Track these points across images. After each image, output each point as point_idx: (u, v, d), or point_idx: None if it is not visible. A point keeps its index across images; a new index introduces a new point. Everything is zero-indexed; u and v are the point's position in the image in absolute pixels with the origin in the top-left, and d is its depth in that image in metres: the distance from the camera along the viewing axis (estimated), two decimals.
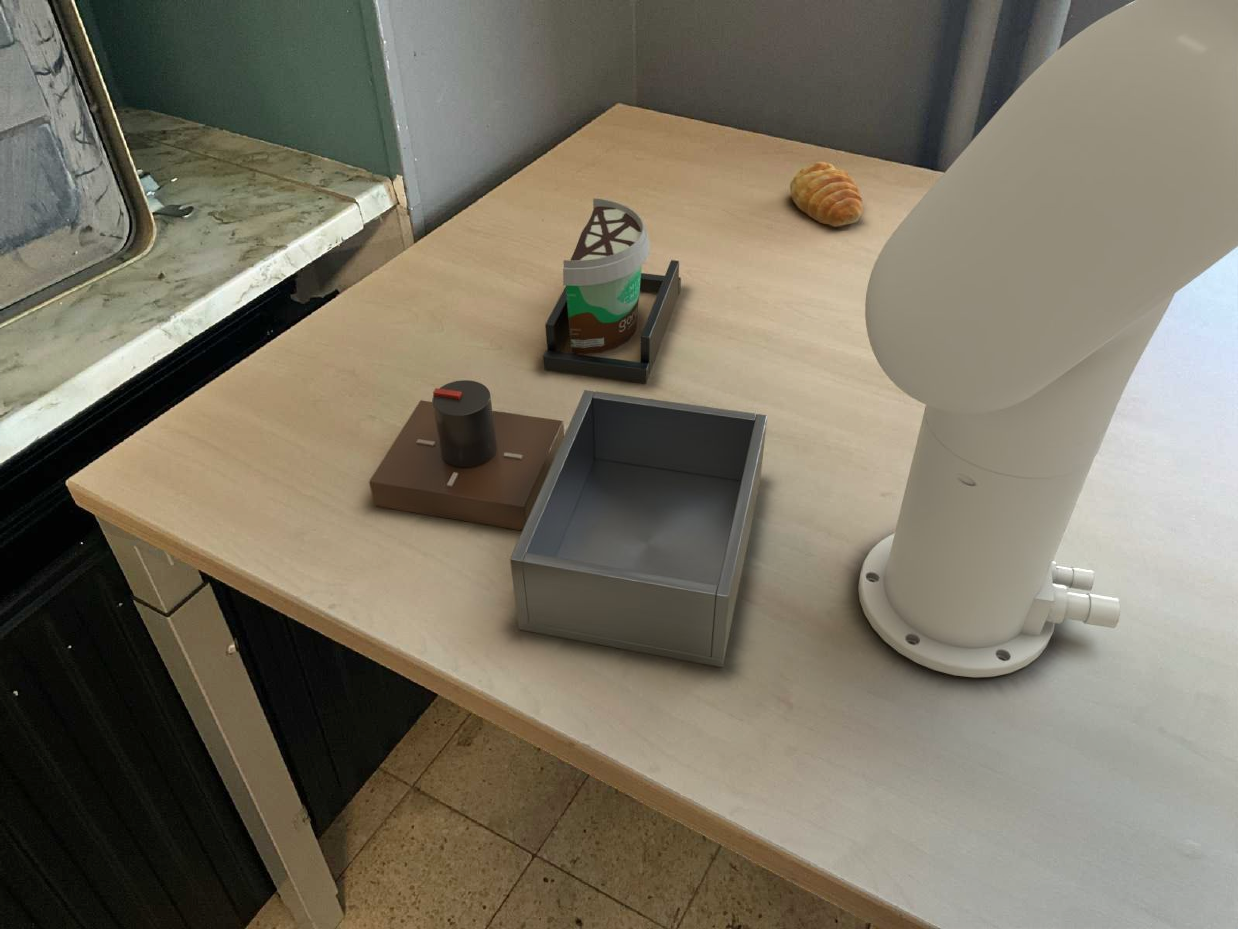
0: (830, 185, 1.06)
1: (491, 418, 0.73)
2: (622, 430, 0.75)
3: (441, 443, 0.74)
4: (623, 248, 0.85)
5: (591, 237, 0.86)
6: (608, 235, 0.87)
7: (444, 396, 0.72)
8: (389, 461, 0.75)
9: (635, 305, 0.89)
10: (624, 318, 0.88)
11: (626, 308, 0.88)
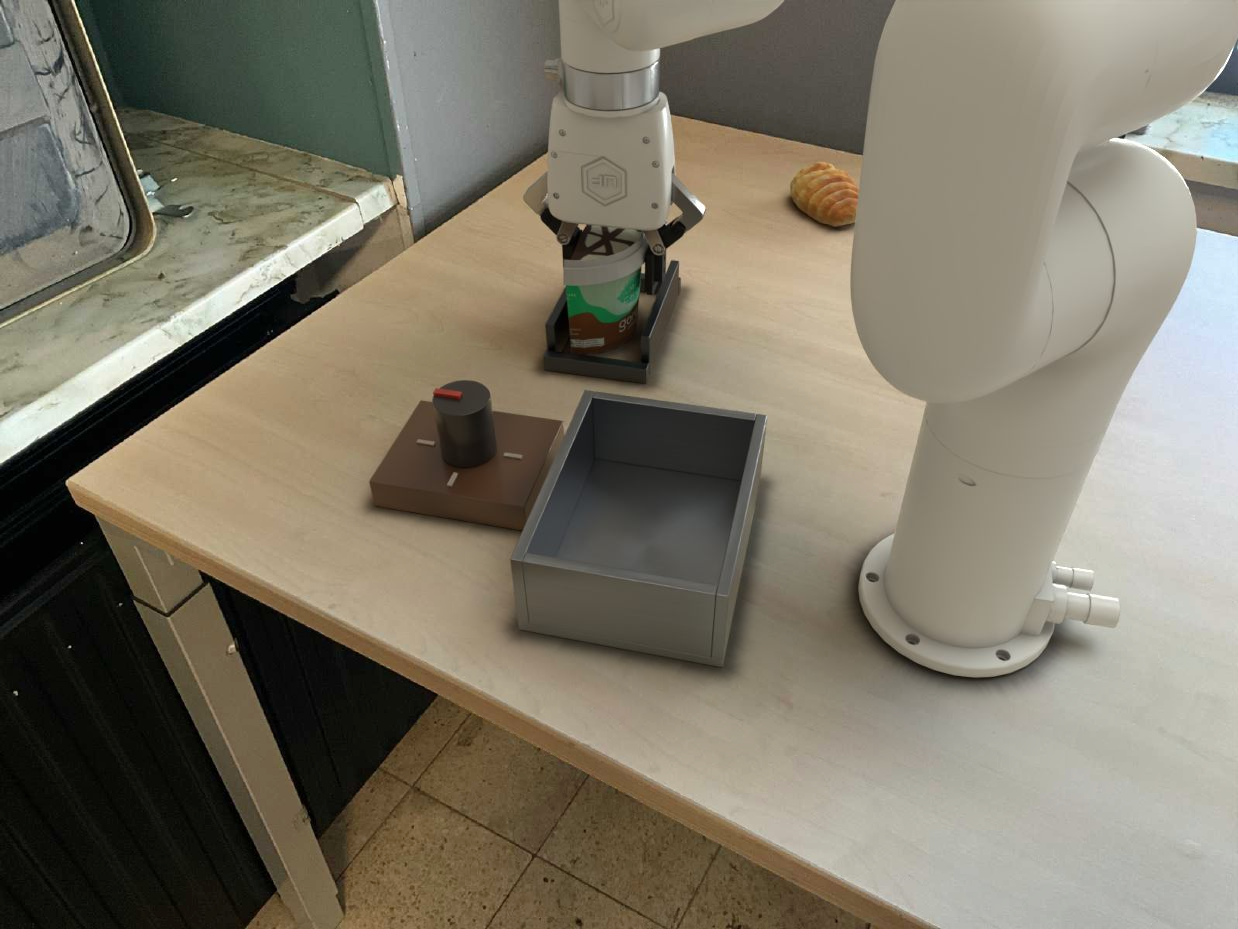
0: (830, 185, 1.06)
1: (491, 418, 0.73)
2: (622, 430, 0.75)
3: (441, 443, 0.74)
4: (623, 248, 0.85)
5: (591, 237, 0.86)
6: (608, 235, 0.87)
7: (444, 396, 0.72)
8: (389, 461, 0.75)
9: (635, 305, 0.89)
10: (624, 318, 0.88)
11: (626, 308, 0.88)
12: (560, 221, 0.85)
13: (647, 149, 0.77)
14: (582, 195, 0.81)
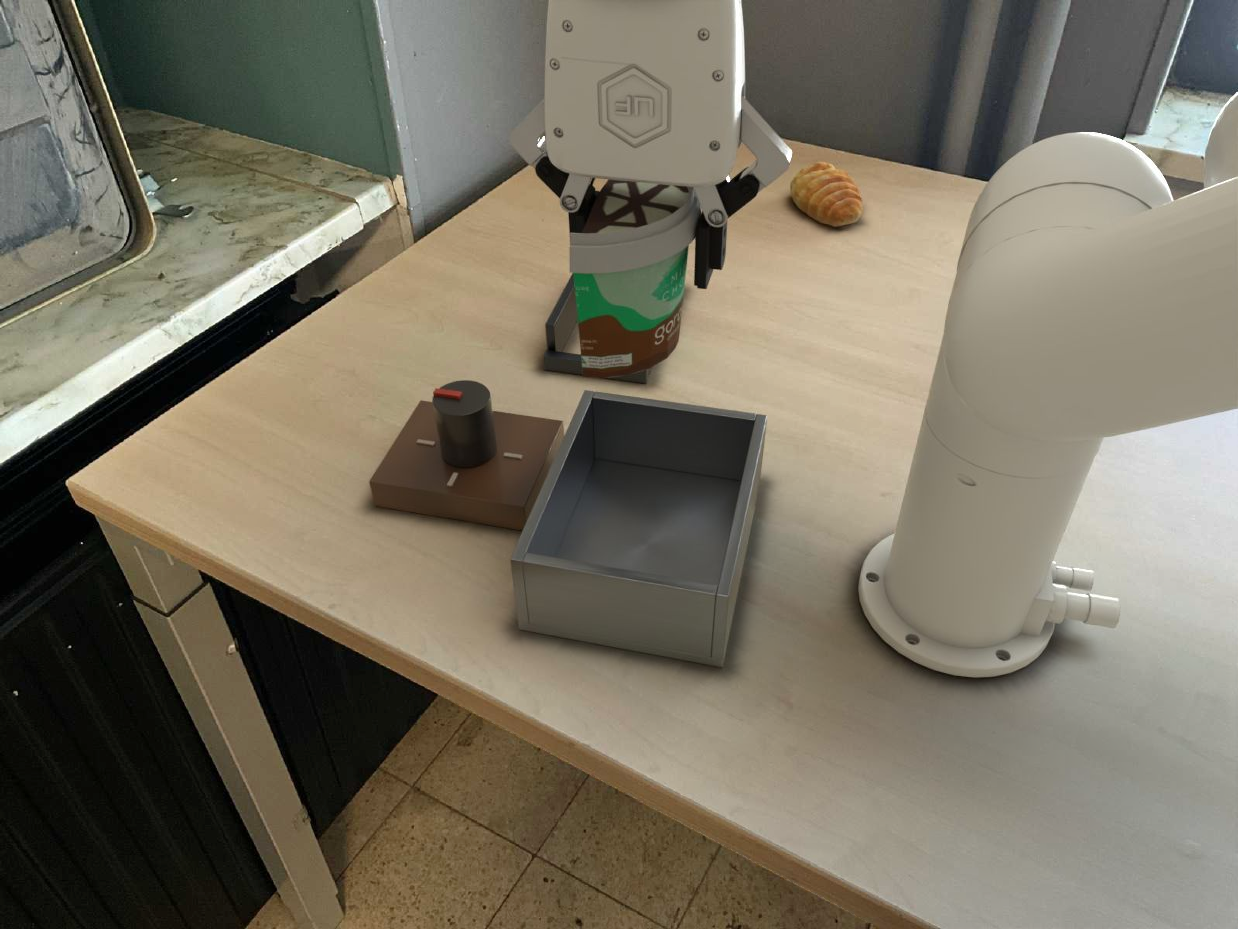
0: (830, 185, 1.06)
1: (491, 418, 0.73)
2: (622, 430, 0.75)
3: (441, 443, 0.74)
4: (662, 217, 0.55)
5: (613, 200, 0.56)
6: (639, 197, 0.57)
7: (444, 396, 0.72)
8: (389, 461, 0.75)
9: (679, 304, 0.59)
10: (662, 324, 0.58)
11: (666, 309, 0.58)
12: (565, 176, 0.56)
13: (705, 50, 0.47)
14: (599, 131, 0.51)
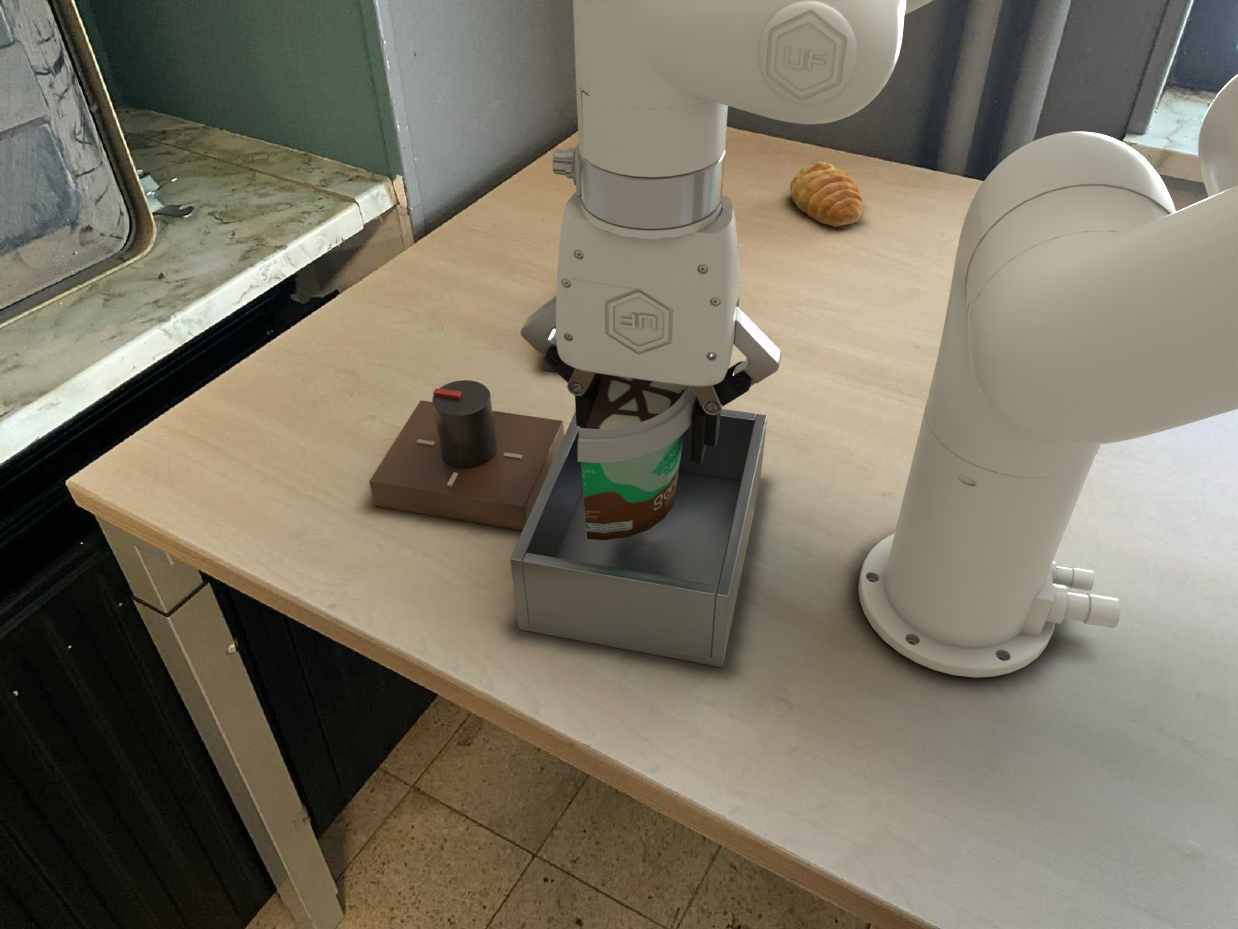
0: (830, 185, 1.06)
1: (491, 418, 0.73)
2: None
3: (441, 443, 0.74)
4: (662, 404, 0.60)
5: (617, 385, 0.61)
6: (640, 381, 0.62)
7: (444, 396, 0.72)
8: (389, 461, 0.75)
9: (676, 473, 0.64)
10: (661, 493, 0.63)
11: (664, 481, 0.63)
12: None
13: (704, 281, 0.52)
14: (606, 339, 0.56)
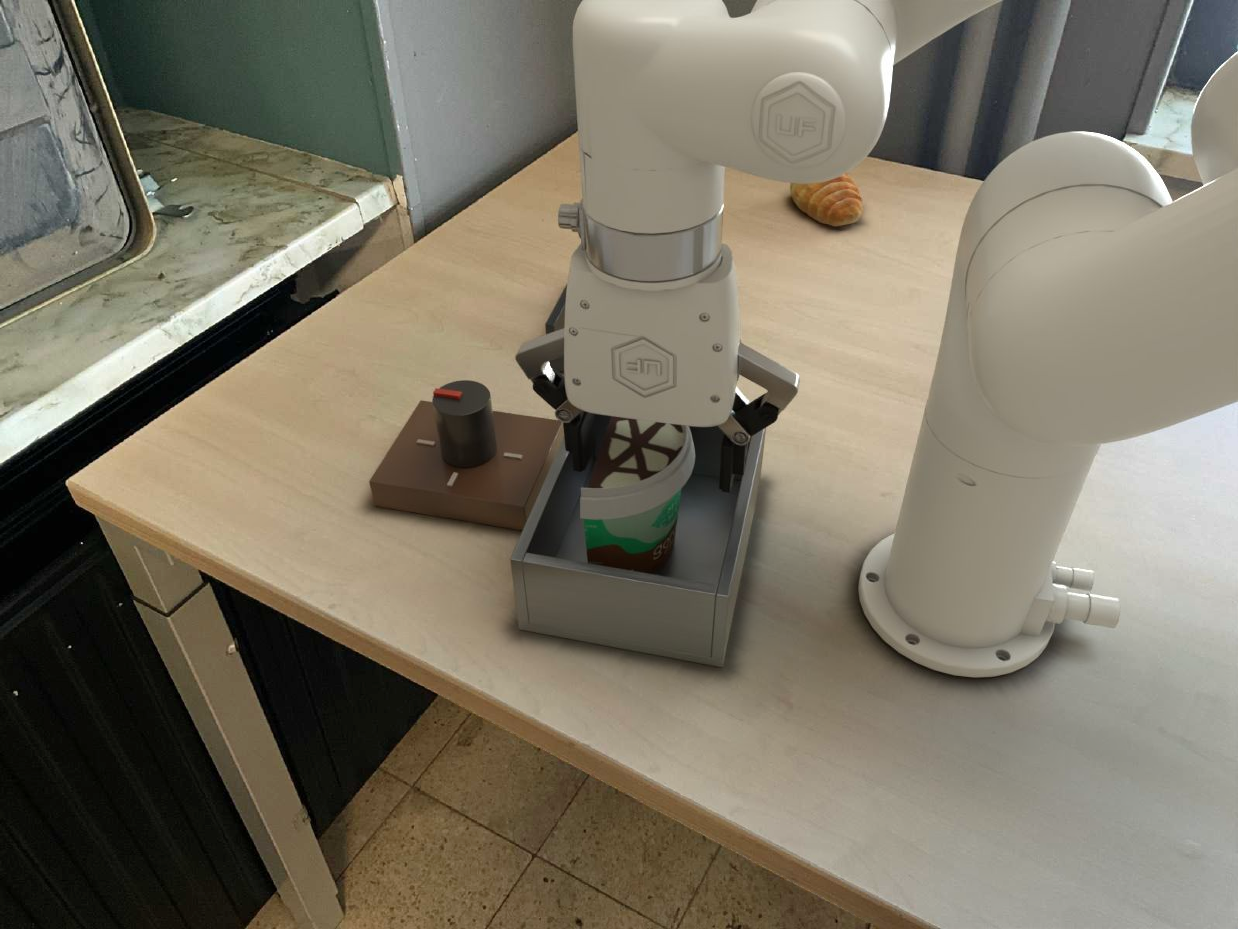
0: (830, 185, 1.06)
1: (491, 418, 0.73)
2: None
3: (441, 443, 0.74)
4: (660, 461, 0.63)
5: (617, 443, 0.64)
6: (639, 438, 0.65)
7: (444, 396, 0.72)
8: (389, 461, 0.75)
9: (674, 523, 0.67)
10: (660, 544, 0.66)
11: (663, 532, 0.66)
12: (565, 392, 0.62)
13: (706, 329, 0.54)
14: (613, 383, 0.58)
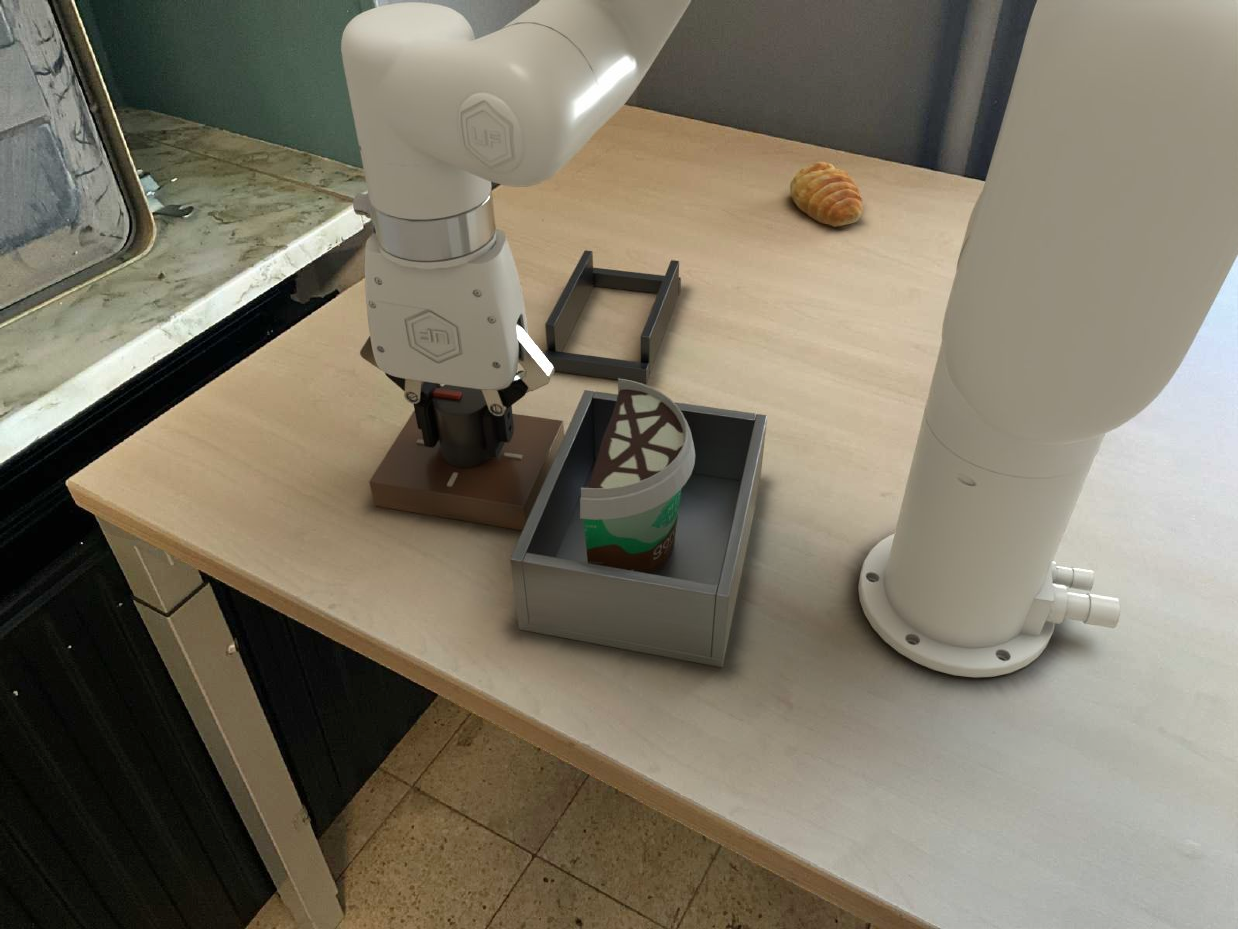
0: (830, 185, 1.06)
1: None
2: None
3: (441, 443, 0.74)
4: (660, 461, 0.63)
5: (617, 443, 0.64)
6: (640, 438, 0.65)
7: (444, 396, 0.72)
8: (389, 461, 0.75)
9: (674, 523, 0.67)
10: (660, 544, 0.66)
11: (663, 532, 0.66)
12: None
13: (480, 303, 0.63)
14: (410, 350, 0.67)
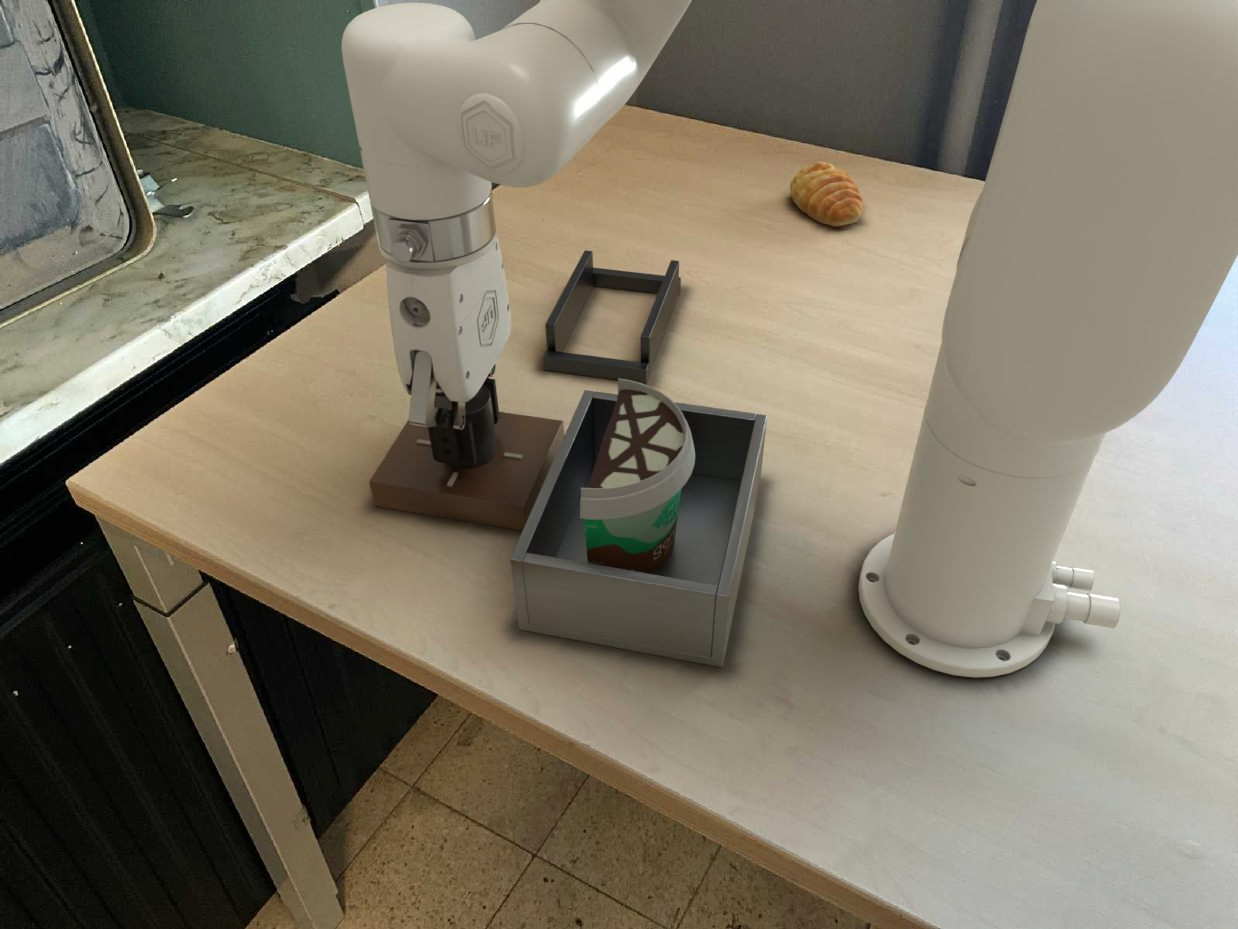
0: (830, 185, 1.06)
1: None
2: None
3: (479, 448, 0.73)
4: (660, 461, 0.63)
5: (617, 443, 0.64)
6: (640, 438, 0.65)
7: None
8: (389, 461, 0.75)
9: (674, 523, 0.67)
10: (660, 544, 0.66)
11: (663, 532, 0.66)
12: (448, 413, 0.68)
13: (498, 254, 0.68)
14: (480, 351, 0.67)
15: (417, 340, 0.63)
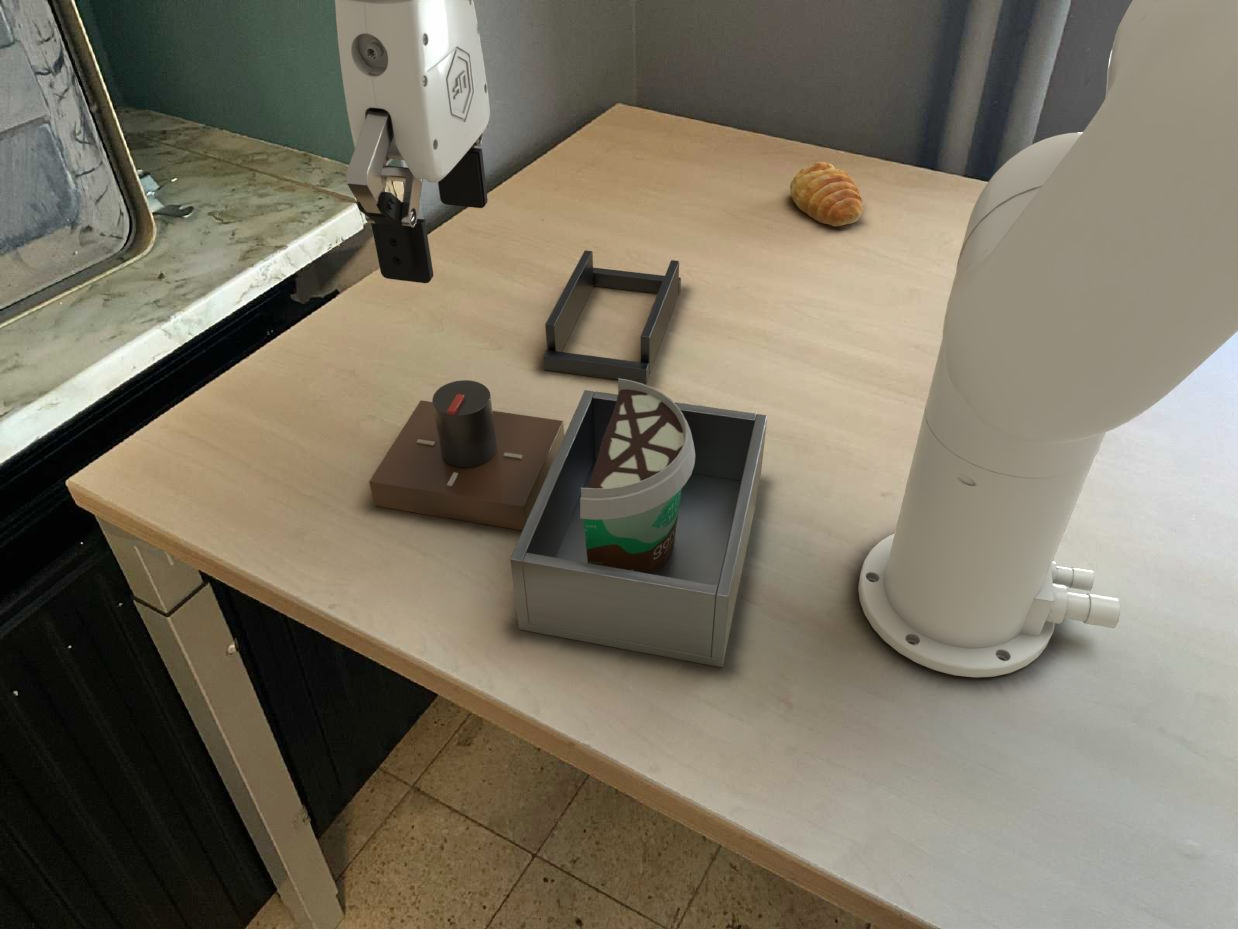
0: (830, 185, 1.06)
1: None
2: None
3: (479, 448, 0.73)
4: (660, 461, 0.63)
5: (617, 443, 0.64)
6: (640, 438, 0.65)
7: (459, 406, 0.71)
8: (389, 461, 0.75)
9: (674, 523, 0.67)
10: (660, 544, 0.66)
11: (663, 532, 0.66)
12: None
13: (472, 11, 0.57)
14: (451, 122, 0.56)
15: (373, 94, 0.53)
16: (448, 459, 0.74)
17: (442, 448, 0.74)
